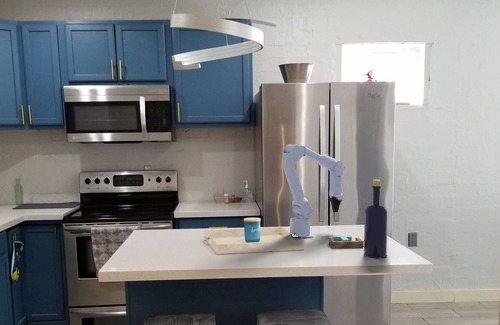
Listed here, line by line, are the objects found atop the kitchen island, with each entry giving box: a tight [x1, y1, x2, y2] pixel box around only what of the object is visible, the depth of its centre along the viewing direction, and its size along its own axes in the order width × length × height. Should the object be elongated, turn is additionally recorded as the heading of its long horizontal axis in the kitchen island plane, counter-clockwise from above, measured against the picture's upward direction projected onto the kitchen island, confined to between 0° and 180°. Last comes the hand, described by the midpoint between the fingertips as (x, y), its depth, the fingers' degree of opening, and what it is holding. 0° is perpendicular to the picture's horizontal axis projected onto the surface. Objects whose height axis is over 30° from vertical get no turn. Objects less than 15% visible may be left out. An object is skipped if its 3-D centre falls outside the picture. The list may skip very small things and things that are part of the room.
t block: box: [332, 234, 353, 241], centre depth 162 cm, size 8×8×3 cm
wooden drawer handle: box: [328, 237, 364, 249], centre depth 160 cm, size 13×6×2 cm, turn 95°
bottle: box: [363, 179, 389, 259], centre depth 146 cm, size 9×9×30 cm
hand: (335, 212), depth 184 cm, fingers closed
